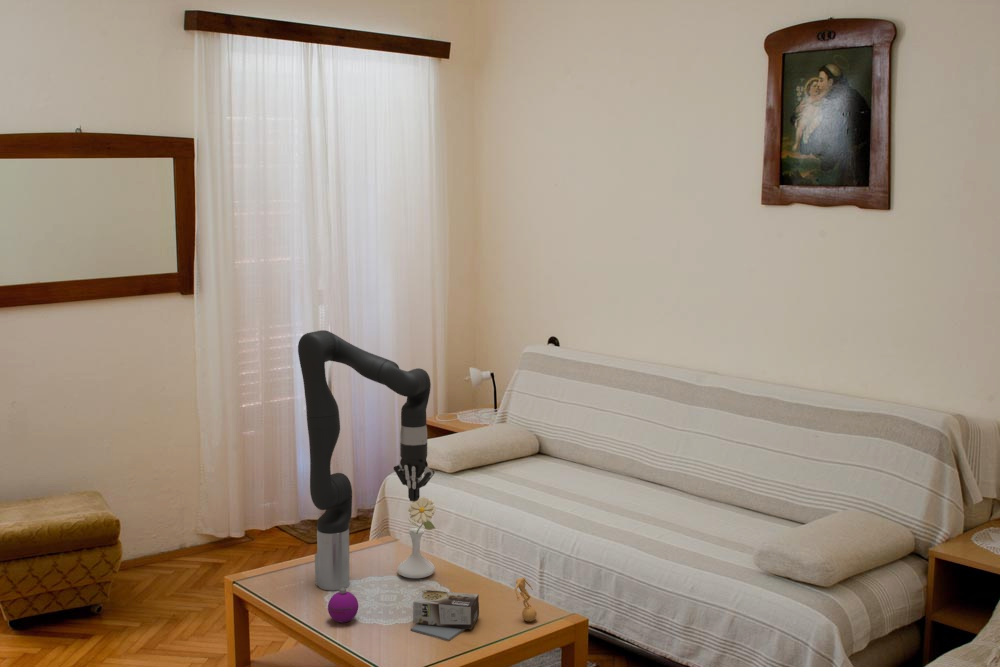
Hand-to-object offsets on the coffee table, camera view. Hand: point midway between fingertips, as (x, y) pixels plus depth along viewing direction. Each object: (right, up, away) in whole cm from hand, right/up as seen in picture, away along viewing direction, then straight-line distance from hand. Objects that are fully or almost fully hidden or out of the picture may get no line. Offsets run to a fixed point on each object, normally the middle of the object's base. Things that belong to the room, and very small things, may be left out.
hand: (414, 500), depth 282 cm
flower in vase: (-1, -26, +22) cm, 34 cm away
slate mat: (+8, -32, -14) cm, 36 cm away
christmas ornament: (-18, -31, -11) cm, 37 cm away
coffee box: (+2, -27, -10) cm, 29 cm away
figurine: (+31, -31, -9) cm, 45 cm away
